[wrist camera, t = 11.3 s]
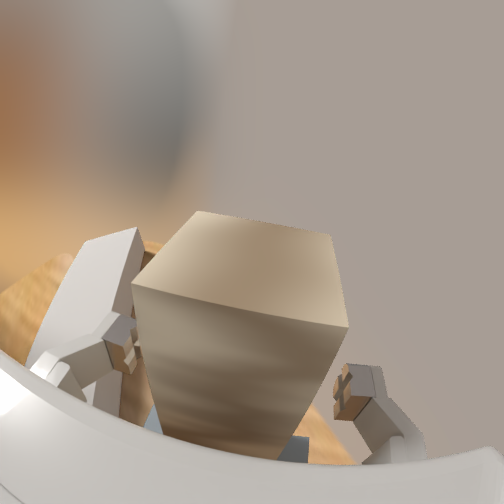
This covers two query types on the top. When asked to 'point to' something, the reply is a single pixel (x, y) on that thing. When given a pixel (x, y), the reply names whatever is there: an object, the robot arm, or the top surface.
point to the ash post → (238, 330)
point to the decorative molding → (93, 304)
